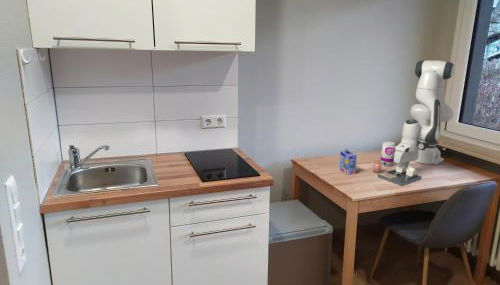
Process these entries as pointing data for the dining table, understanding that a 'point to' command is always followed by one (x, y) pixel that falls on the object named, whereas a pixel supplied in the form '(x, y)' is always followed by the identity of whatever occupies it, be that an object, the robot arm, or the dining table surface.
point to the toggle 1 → (400, 168)
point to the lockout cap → (377, 167)
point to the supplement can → (387, 153)
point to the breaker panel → (398, 177)
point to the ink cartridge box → (347, 162)
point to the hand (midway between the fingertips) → (404, 168)
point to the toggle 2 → (411, 171)
